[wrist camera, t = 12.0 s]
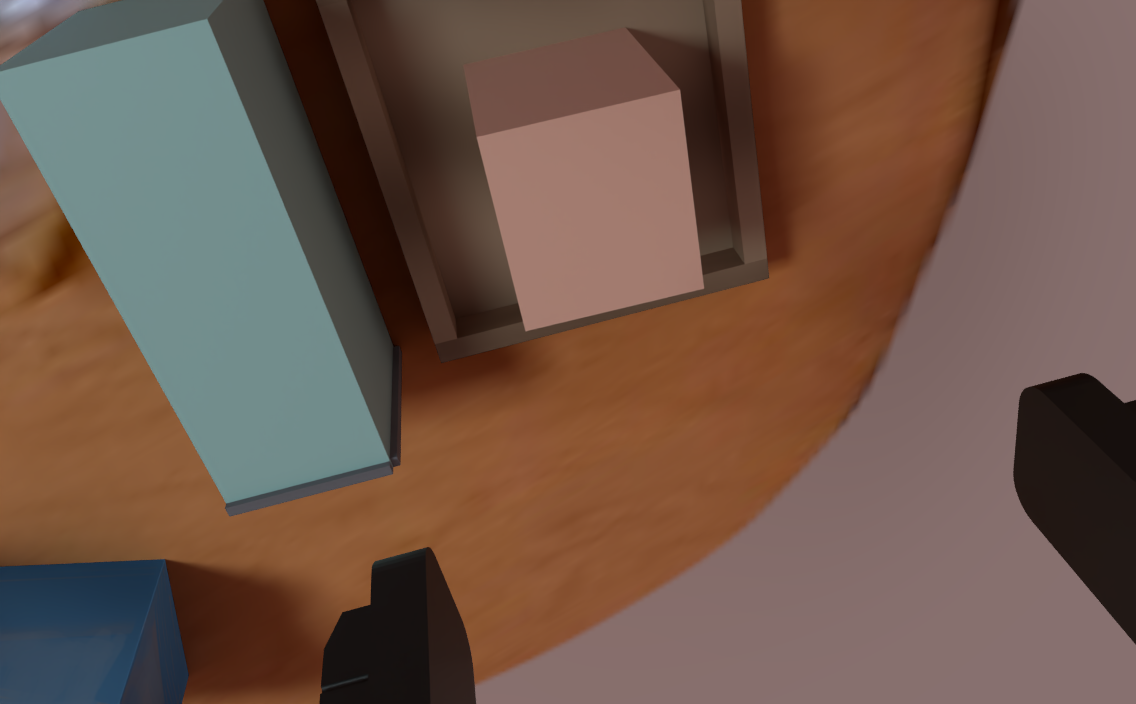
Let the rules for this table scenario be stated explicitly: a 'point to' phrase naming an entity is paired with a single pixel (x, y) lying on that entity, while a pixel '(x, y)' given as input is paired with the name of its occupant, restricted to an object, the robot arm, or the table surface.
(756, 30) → the table surface
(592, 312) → the stub
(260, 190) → the bar
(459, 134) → the tray
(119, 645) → the perfume bottle
